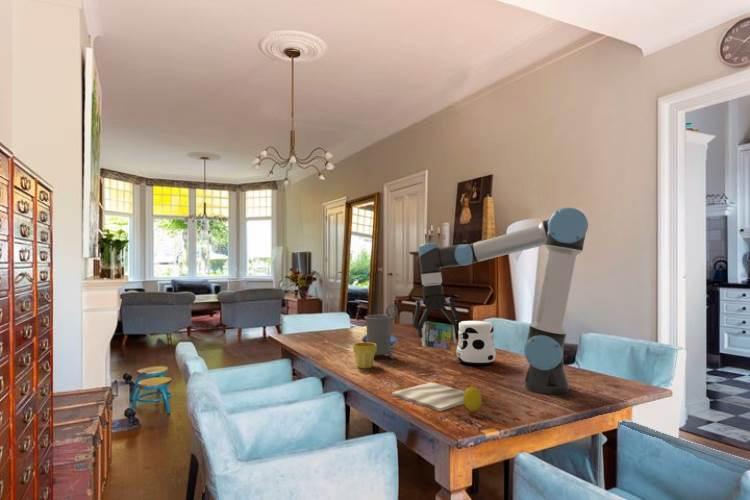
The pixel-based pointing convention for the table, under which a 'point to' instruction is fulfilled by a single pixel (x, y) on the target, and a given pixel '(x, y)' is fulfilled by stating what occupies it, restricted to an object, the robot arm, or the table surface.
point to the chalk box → (438, 335)
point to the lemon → (472, 398)
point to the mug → (380, 331)
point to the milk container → (476, 342)
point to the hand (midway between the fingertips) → (439, 344)
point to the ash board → (432, 396)
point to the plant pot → (364, 354)
